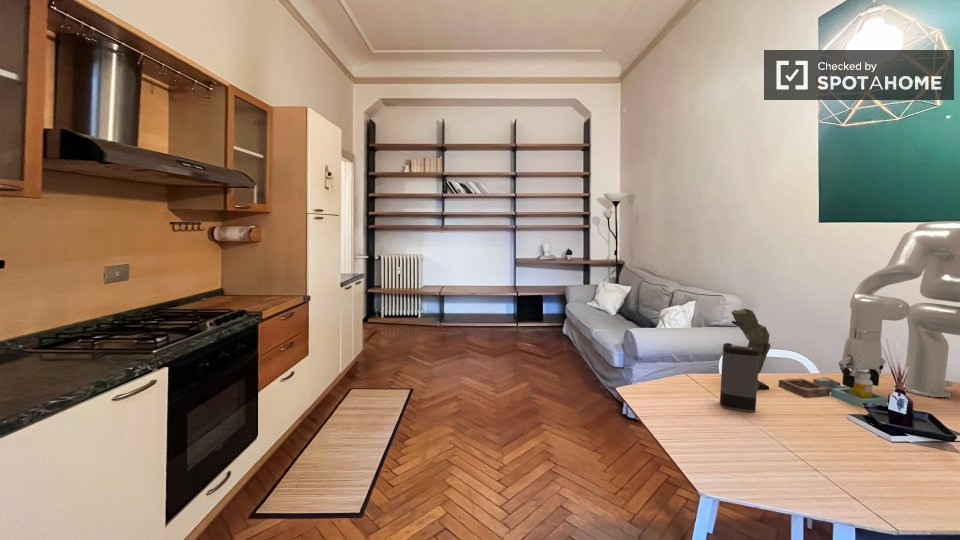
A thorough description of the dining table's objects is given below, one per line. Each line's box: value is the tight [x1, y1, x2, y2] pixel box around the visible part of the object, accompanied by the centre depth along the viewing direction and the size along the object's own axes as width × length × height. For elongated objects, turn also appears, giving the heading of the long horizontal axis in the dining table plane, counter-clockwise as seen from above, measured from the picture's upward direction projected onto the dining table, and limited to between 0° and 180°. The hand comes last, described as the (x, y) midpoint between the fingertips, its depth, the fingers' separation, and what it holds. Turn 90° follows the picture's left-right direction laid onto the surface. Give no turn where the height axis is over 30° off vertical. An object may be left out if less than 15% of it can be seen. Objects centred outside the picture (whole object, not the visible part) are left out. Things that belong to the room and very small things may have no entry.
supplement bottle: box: [849, 370, 874, 399], centre depth 132 cm, size 5×5×10 cm
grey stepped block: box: [812, 376, 838, 387], centre depth 142 cm, size 6×4×3 cm
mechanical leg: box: [731, 307, 771, 391], centre depth 144 cm, size 14×7×30 cm, turn 83°
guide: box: [827, 381, 848, 393], centre depth 143 cm, size 12×5×2 cm, turn 99°
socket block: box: [778, 378, 831, 399], centre depth 141 cm, size 10×10×2 cm
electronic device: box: [719, 342, 759, 413], centre depth 126 cm, size 9×6×20 cm, turn 65°
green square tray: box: [830, 387, 890, 409], centre depth 133 cm, size 10×10×2 cm
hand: (860, 385), depth 132 cm, fingers open, 9 cm apart
